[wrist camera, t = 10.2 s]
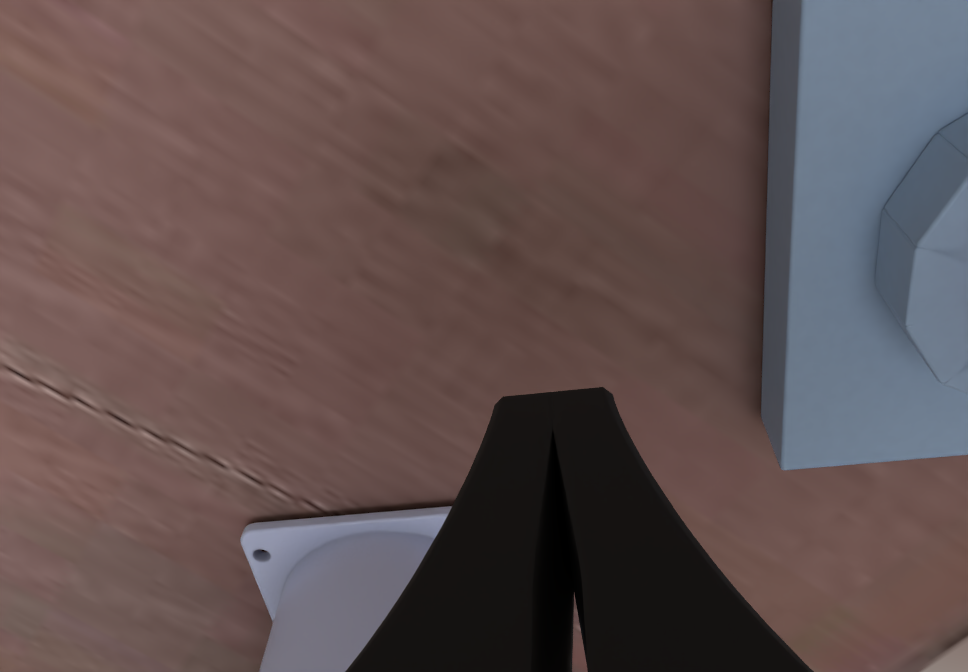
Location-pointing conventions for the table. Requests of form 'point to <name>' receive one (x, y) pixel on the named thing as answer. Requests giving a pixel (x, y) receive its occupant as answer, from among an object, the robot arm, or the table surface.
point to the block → (867, 232)
